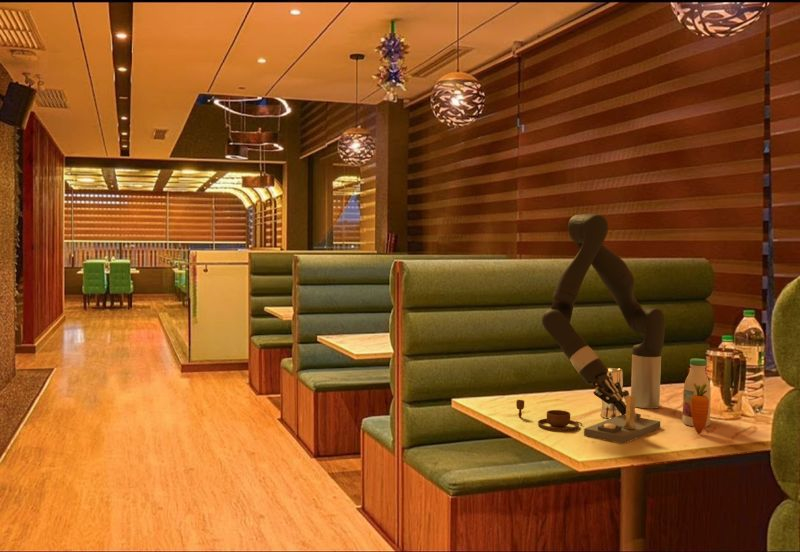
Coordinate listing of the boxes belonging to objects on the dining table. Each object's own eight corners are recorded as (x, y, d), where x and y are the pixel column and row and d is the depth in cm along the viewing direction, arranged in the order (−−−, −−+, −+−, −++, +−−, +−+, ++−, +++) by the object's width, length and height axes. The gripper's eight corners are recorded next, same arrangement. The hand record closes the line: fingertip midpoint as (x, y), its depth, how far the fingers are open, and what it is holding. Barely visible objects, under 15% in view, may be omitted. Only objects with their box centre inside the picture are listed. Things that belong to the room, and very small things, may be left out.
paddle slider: (628, 426, 212) (629, 395, 212) (636, 427, 211) (637, 396, 210) (623, 427, 210) (624, 396, 210) (631, 429, 208) (632, 398, 208)
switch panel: (622, 420, 228) (622, 409, 228) (660, 427, 220) (660, 415, 220) (584, 435, 210) (584, 422, 210) (623, 443, 202) (624, 430, 202)
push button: (607, 427, 211) (607, 422, 211) (617, 429, 209) (617, 424, 209) (601, 429, 209) (601, 424, 208) (612, 431, 206) (612, 426, 206)
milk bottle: (708, 422, 227) (711, 358, 226) (710, 428, 220) (712, 362, 219) (681, 420, 229) (684, 356, 228) (682, 426, 222) (684, 360, 221)
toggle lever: (633, 418, 222) (623, 390, 224) (639, 417, 221) (628, 389, 223) (630, 420, 221) (620, 391, 223) (636, 418, 220) (625, 389, 222)
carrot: (686, 432, 215) (688, 381, 215) (702, 431, 216) (704, 381, 215) (694, 436, 210) (696, 384, 210) (711, 436, 211) (713, 384, 210)
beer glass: (622, 420, 229) (624, 372, 228) (599, 418, 230) (601, 371, 229) (620, 414, 235) (622, 368, 235) (598, 413, 237) (599, 367, 236)
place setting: (537, 435, 212) (538, 415, 212) (512, 418, 232) (512, 400, 231) (593, 432, 216) (594, 412, 216) (564, 416, 236) (564, 398, 235)
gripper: (586, 359, 212) (625, 409, 204) (607, 354, 222) (645, 401, 214) (569, 375, 216) (606, 424, 208) (591, 370, 225) (627, 416, 218)
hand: (626, 413), depth 211 cm, fingers closed
